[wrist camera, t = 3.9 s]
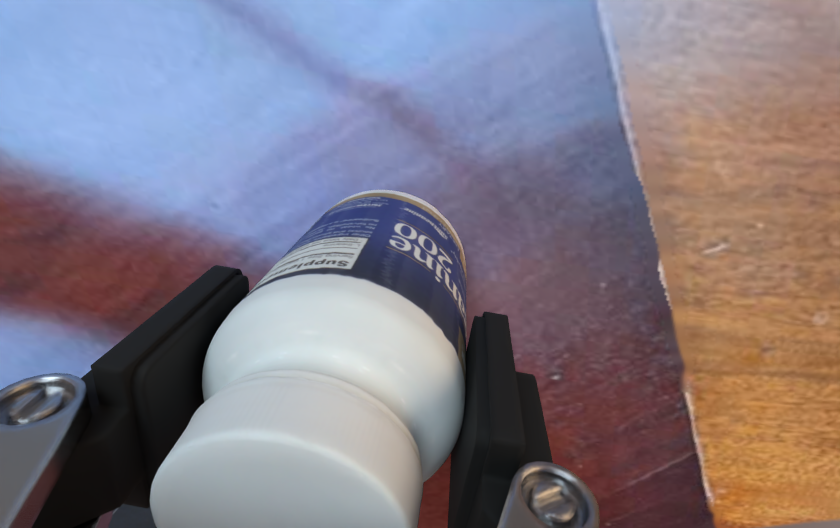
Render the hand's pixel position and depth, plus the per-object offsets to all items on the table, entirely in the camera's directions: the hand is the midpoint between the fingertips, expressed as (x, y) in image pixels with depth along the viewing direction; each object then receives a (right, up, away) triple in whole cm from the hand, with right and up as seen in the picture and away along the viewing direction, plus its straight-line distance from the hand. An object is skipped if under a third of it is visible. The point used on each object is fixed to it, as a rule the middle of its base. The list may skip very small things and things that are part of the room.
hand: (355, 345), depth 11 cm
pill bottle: (+1, +2, +5) cm, 5 cm away
